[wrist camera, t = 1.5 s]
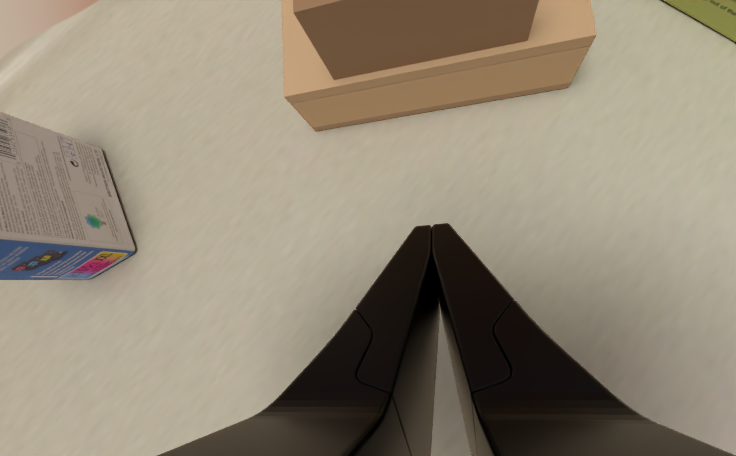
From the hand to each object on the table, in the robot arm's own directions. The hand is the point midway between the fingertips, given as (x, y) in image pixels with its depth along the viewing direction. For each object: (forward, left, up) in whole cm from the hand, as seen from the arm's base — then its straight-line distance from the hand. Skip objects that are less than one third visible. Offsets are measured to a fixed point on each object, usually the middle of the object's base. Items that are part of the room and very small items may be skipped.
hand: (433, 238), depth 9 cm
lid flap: (+10, -10, -9) cm, 16 cm away
